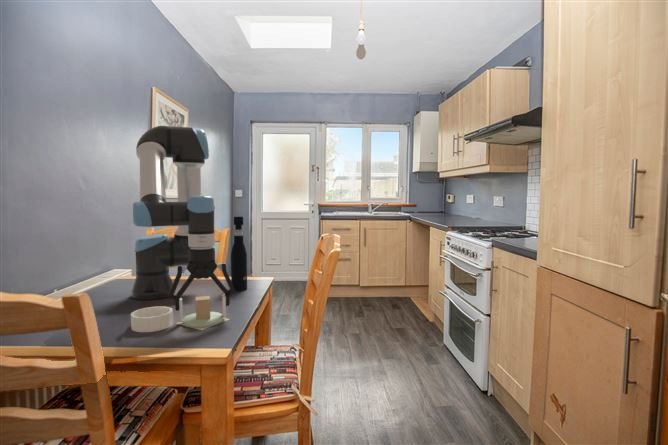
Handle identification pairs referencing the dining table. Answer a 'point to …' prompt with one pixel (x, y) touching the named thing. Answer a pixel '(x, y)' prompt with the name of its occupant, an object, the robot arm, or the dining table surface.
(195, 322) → the lid
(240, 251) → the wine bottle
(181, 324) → the mat
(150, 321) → the bowl
